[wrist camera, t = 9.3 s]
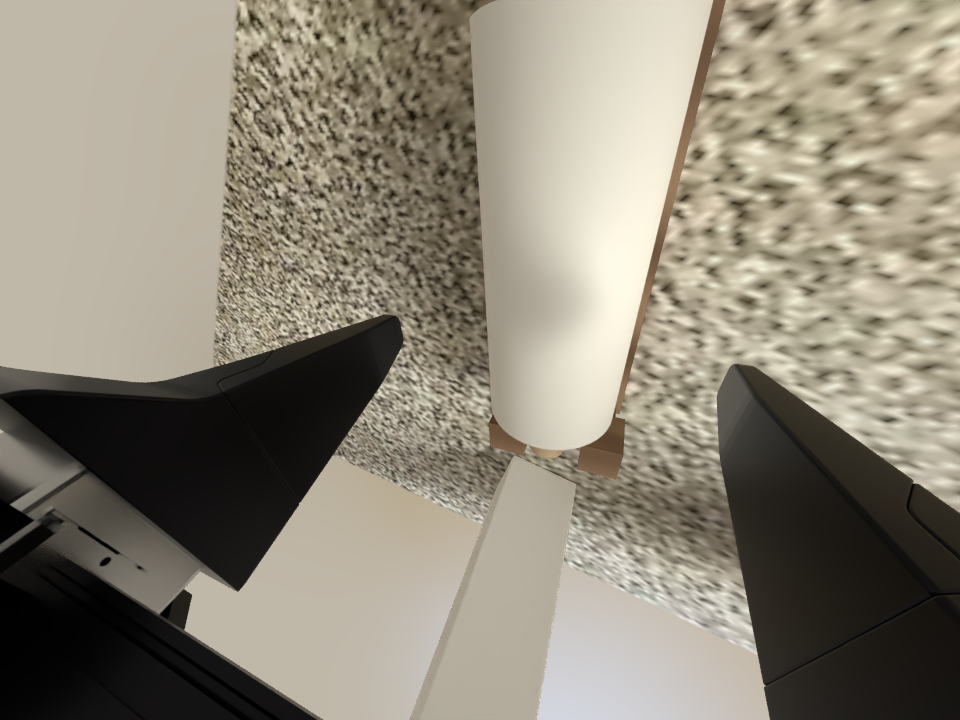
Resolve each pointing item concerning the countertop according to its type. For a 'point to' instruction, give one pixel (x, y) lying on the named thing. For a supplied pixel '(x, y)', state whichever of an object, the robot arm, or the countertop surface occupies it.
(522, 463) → the milk
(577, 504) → the countertop surface
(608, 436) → the bracket
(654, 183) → the kitchen roll
